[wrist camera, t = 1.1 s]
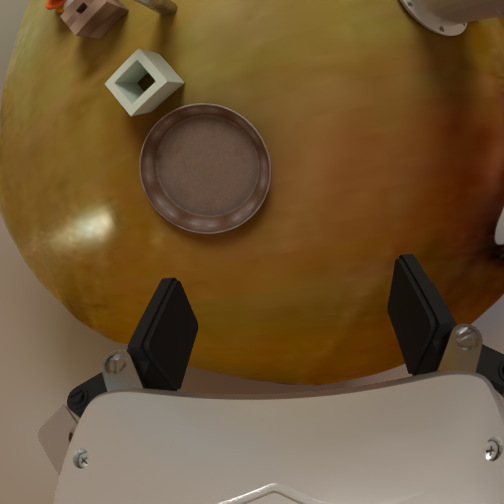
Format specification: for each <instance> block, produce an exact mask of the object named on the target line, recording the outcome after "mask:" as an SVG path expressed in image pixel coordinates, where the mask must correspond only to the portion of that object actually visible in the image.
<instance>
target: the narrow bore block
mask: <svg viewBox="0 0 504 504" xmlns="http://www.w3.org/2000/svg"><path fill="white" fill-rule="evenodd" d="M128 11H129V10H128V9H127V8H126V7H125V6H124V5H123V4H122V3H121V2H120V1H119V0H74V1H73V2H72V3H71V4H70V5H69V6H68V7H67V9H66V10H65V11H64V12H63V13H62V15H61V16H60V17H61V18H62V19H63V21H64V22H65V23H66V24H67V26H68V27H69V28H70V29H71V31H72V32H73V33H74V34H75V35H76V36H83V37H90V38H96V39H101V38H102V37H103V36H104V35H105V33H106V32H107V31H108V30H109V29H110V28H111V27H112V26H113V25H114V24H115V23H116V22H117V21H118V20H119V19H120V18H121V17H122V16H124V15H125V14H126V13H127V12H128Z"/></svg>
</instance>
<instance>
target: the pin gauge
mask: <svg viewBox="0 0 504 504" xmlns="http://www.w3.org/2000/svg"><path fill="white" fill-rule="evenodd" d="M135 1H137V2H139V3H141V4H142V5H144V6H146V7H148V8H150V9H152V10H153V11H155V12H157V13H159V14H160V15H162V16H164V17H168V16H171V15H173V14H174V13H175V12H176V10H177V5H176V4H175V3H173V2H172V1H171V0H135Z"/></svg>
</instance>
